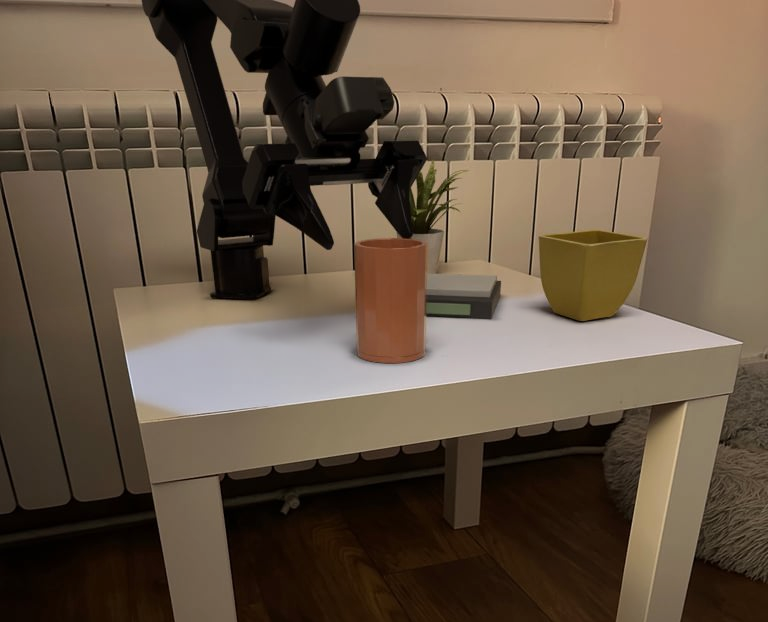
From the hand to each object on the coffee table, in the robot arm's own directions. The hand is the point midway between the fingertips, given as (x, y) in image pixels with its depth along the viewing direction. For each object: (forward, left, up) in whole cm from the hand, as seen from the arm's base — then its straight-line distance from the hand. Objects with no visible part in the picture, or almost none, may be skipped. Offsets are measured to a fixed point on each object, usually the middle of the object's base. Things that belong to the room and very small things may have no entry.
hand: (371, 242), depth 70 cm
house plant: (-2, +40, -10) cm, 41 cm away
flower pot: (+21, +18, -10) cm, 30 cm away
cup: (+2, -2, -10) cm, 11 cm away
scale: (+5, +21, -10) cm, 24 cm away
